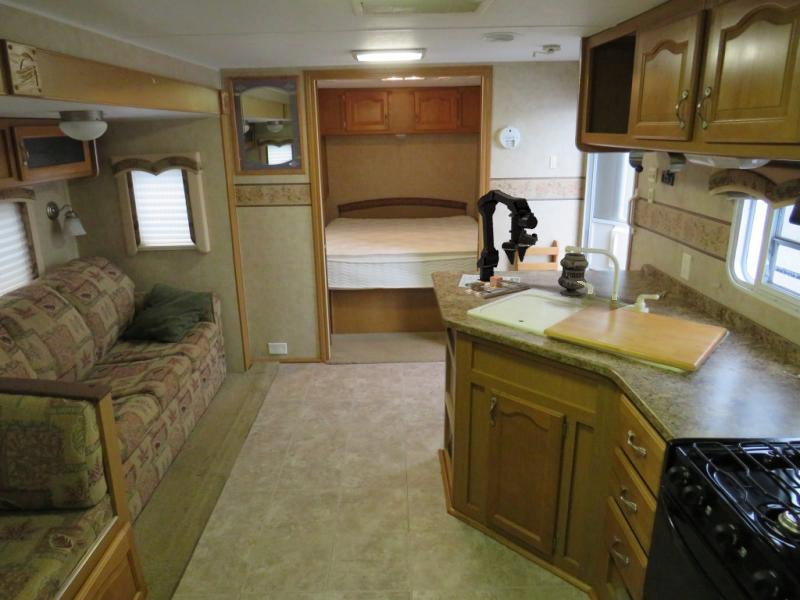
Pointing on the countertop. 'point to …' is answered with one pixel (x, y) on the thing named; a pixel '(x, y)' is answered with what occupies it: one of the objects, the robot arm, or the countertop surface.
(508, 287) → the beam board
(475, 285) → the fixed point
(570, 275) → the apothecary jar
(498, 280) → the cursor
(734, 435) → the countertop surface
